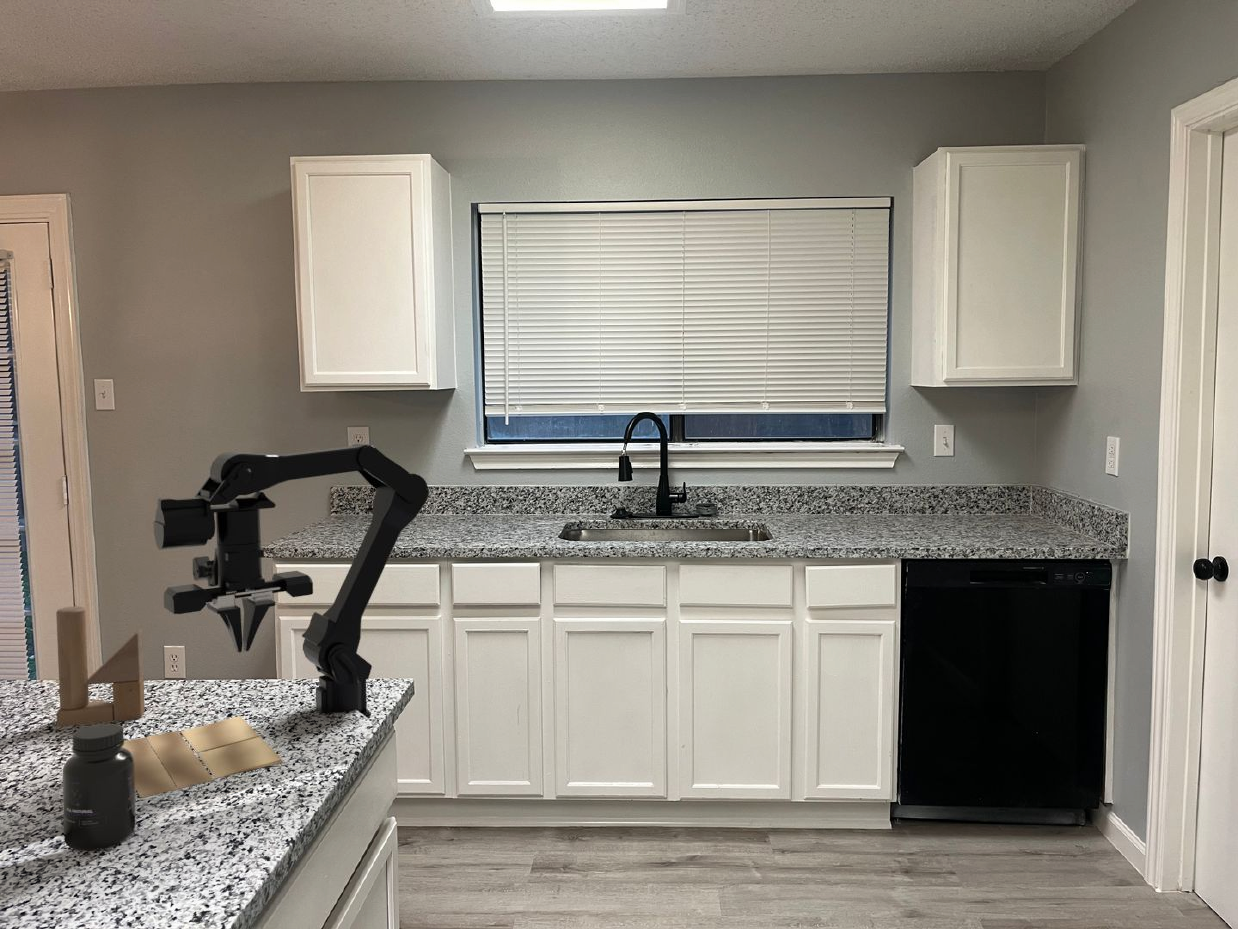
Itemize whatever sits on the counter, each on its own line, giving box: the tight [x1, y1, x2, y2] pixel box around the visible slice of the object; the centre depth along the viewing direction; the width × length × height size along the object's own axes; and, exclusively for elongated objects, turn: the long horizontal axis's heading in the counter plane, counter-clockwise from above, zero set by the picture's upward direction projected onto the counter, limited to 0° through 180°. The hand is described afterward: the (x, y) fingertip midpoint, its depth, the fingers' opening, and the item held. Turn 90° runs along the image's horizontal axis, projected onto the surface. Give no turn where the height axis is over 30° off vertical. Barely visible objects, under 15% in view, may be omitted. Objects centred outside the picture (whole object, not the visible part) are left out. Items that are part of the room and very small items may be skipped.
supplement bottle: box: [62, 723, 136, 852], centre depth 97 cm, size 7×7×12 cm
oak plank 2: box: [197, 736, 283, 779], centre depth 116 cm, size 8×10×2 cm
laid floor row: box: [122, 730, 215, 799], centre depth 115 cm, size 8×20×2 cm, turn 38°
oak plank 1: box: [180, 715, 260, 754], centre depth 124 cm, size 8×10×2 cm
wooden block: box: [55, 606, 146, 728], centre depth 130 cm, size 4×11×18 cm, turn 110°
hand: (242, 651), depth 126 cm, fingers closed
